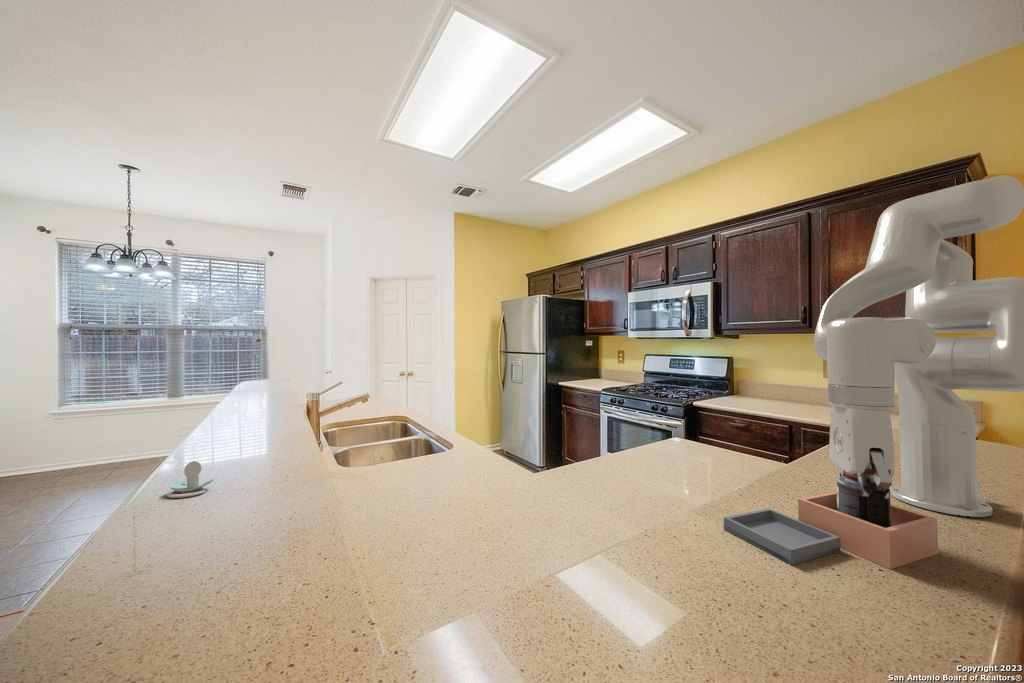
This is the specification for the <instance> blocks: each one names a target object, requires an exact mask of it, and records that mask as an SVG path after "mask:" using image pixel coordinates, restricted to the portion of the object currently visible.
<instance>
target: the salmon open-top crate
mask: <svg viewBox="0 0 1024 683" xmlns="http://www.w3.org/2000/svg"><path fill="white" fill-rule="evenodd" d="M890 509H891V527H888V528H884V527H881V526H878V525H875V524H873V523H870V522H867V521H864V520H861V519H858V518H856V517H853V516H850V515H847V514H844V513H841V512H839V511H837V510H838V509H837V490H836V491H832V492H826V493H821V494H815V495H810V496H806V497H805V496H804V497H801V498H797V514H798V518H797V520H799V521H801V522H804V523H806V524H809V525H811V526H814V527H816V528H819V529H821V530H823V531H826V532H828V533H831V534H833V535H836V536H838V537H840V545H841V549H842V550H845V551H847V552H848V553H851V554H854V555H856V556H859V557H861V558H863V559H866V560H868V561H870V562H872V563H875V564H877V565H879V566H882V567H883V568H886V569H889V570H893V569H895V568H898V567H902V566H904V565H908V564H912V563H915V562H917V561H920V560H922V559H923V560H924V559H926V558H929V557H933V556H936V555H939V541H938V540H939V537H938V532H939V531H938V518H936V517H933V516H930V515H927V514H925V513H920V512H917V511H913V510H911V509H906V508H904V507H900V506H898V505H894V504H891V503H890Z"/></svg>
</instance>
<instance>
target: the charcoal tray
mask: <svg viewBox="0 0 1024 683" xmlns="http://www.w3.org/2000/svg"><path fill="white" fill-rule="evenodd" d="M723 530H724V531H726V532H728V533H729V532H730V533H729V534H732V535H733V536H735V537H737V538H738V539H741V540H743V541H745V542H747V543H749V544H751V545H752V546H754V547H756V548H758V549H760V550H762V551H763V552H766V553H767V554H769V555H771V556H773V557H775V558H777V559H779V560H780V561H782V562H785V563H786V564H788V565H791V566H792V565H797V564H800V563H804V562H808V561H810V560H814V559H818V558H822V557H825V556H830V555H832V554H837V553H840V552H841V551H842V550H841V549H842V548H841V545H840V537H838V536H836V535H833V534H831V533H828V532H826V531H823V530H821V529H819V528H816V527H814V526H811V525H809V524H806V523H804V522H801V521H799V520H798V518H794V517H792V516H789V515H787V514H784V513H782V512H779V511H777V510H776V509H775V510H774V509H772V508H769V507H768V508H765V509H764V508H763V509H760V510H754V511H749V512H743V513H739V514H733V515H728V516H724V517H723Z"/></svg>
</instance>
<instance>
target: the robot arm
mask: <svg viewBox="0 0 1024 683" xmlns="http://www.w3.org/2000/svg"><path fill="white" fill-rule="evenodd" d="M1023 210H1024V186H1023V184H1022V183H1021V182H1020V181H1019V179H1017V178H1016V177H1014V176H1011V175H1007V174H1006V175H1005V174H1004V175H998V176H994V177H991V178H986V179H985V178H984V179H978V180H974V181H970V182H965V183H962V184H959V185H957V184H956V185H954V186H950V187H946V188H943V189H938V190H935V191H932V192H927V193H924V194H920V195H916V196H912V197H910V198H906V199H903V200H900V201H897V202H895V203H893V204H891V205H890V206H888V207H887V208H885V209H884V211H882V213H881V214H880V216H879V218H878V220H877V223H876V225H875V226H876V227H875V230H874V234H873V237H872V241H871V246H870V249H869V252H868V257H867V260H866V262H865V263H866V265H865V267H864V268H863V269H862V270H861V271H859V272H858V273H857V274H855V275H853V276H852V277H850V279H848V280H847V281H845V282H844V283H843V284H842V285H840V287H839V288H837V289H836V290H835V291H834V292H833V293H832V294H831V295H830V296H829V297H828V298H827V300H825V302H824V303H823V306H822V308H821V311H820V312H819V316H818V319H817V323H816V328H815V331H814V335H813V344H814V349H815V352H816V354H817V356H818V357H820V358H821V359H822V360H824V361H826V363H827V364H826V366H827V367H826V369H827V372H826V374H827V404H828V405H829V406H831V412H830V420H829V421H830V424H829V450H828V451H829V452H828V454H829V459H830V460H831V461H832V462H833V463H834V464H835V465H837V466H838V467H839V468H840V469H839V470H840V471H839V478H840V477H843V476H846V474H845V472H844V471H846V472H847V473H849V474H851V475H856V473H857V475H858V481H859V487H860V493H861V495H860V494H857V500H858V519H861V520H864V521H867V522H870V523H873V524H875V525H878V526H882V527H888V526H889V509H888V500H889V493H888V492H889V490H890V496H892V497H894V498H895V499H897V500H899V501H901V502H904V503H906V504H909V505H912V506H914V507H918V508H921V509H926V510H929V511H933V512H938V513H943V514H948V515H954V516H959V515H960V516H959V517H967V516H969V517H970V518H987V516H988V517H990V516H993V514H992V513H993V510H994V509H993V507H992V506H990V504H988V503H986V502H984V501H982V500H979V497H978V496H979V495H978V491H979V490H980V489H981V484H980V482H978V467H977V461H978V460H977V442H976V441H977V440H976V438H977V437H976V434H977V433H976V415H975V414H974V411H973V409H972V408H971V407H970V405H969V404H968V403H966V401H965V400H963V399H962V398H961V397H960V396H959V395H957V394H956V393H955V392H954V390H972V391H991V392H1007V393H1009V392H1011V393H1012V392H1013V393H1015V392H1016V393H1017V392H1019V393H1020V392H1024V278H1023V277H1017V276H1016V277H1015V276H1009V277H1008V276H1007V277H1006V276H1005V277H996V278H995V277H994V278H986V279H977V280H974V279H973V278H974V277H973V273H974V272H973V269H974V268H973V266H974V259H973V257H972V256H971V254H969V253H968V252H967V251H966V250H964V249H963V248H961V247H959V246H958V245H955V244H954V243H952V242H949V241H947V240H945V239H951V238H955V237H961V236H967V235H973V234H977V233H982V232H988V231H992V230H997V229H999V228H1002V227H1003V226H1006V225H1009V224H1010V223H1013V222H1014V221H1015V220H1016V219H1017V218H1018V217H1019V216H1020V215H1021V213H1022V211H1023ZM904 292H906V293H905V308H904V310H905V311H904V312H905V313H904V316H905V317H888V318H887V317H886V318H885V317H878V316H871V317H870V316H861V317H854V316H856V315H857V314H858V313H859V312H860V311H862V310H863V309H865V308H867V307H869V306H871V305H873V304H876V303H878V302H881V301H883V300H886V299H889V298H892V297H894V296H897V295H899V294H902V293H904ZM973 332H974V333H975V332H977V333H978V332H991V333H995V334H996V336H979V337H977V336H976V337H975V336H974V337H973V336H972V337H971V336H970V337H959V336H958V337H936V335H935V333H944V334H945V333H973ZM895 385H896V387H895ZM896 390H897V395H898V396H897V398H898V413H899V419H898V420H899V445H900V446H899V447H900V448H899V450H900V451H899V452H900V454H899V456H900V473H901V474H900V482H901V484H900V485H893V480H892V479H893V477H894V476H895V470H896V468H895V466H896V465H895V464H896V460H895V459H896V458H895V446H894V445H895V444H894V433H893V426H892V425H893V424H892V420H891V413H890V411H895V410H896ZM864 470H865V471H873V472H874V475H870V474H864V473H863V472H864ZM866 479H869V480H874V482H870V483H869V485H868V486H867V483H866ZM892 485H893V486H892Z"/></svg>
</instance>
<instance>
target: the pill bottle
mask: <svg viewBox="0 0 1024 683" xmlns="http://www.w3.org/2000/svg"><path fill="white" fill-rule="evenodd" d="M844 472H845V474H846V476H843V477H840V476H839V477H838V479H837V480H836V491H837V509H838V510H837V511H839V512H841V513H844V514H847V515H850V516H853V517H856V518H858V500H857V494H860V495H861V493H860V487H859V481H858V475H857V473H856V475H851V474H849V473H847V472H846V471H844ZM863 473H864V474H870V475H874V472H873V471H865V470H864V472H863ZM870 482H874V480H869V479H866V483H867V486H868V485H869V483H870ZM888 493H889V500H888V509H889V526H888V527H891V509H890V504H891V491H890V490H889V492H888ZM881 527H882V526H881ZM888 527H884V528H888Z"/></svg>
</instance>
